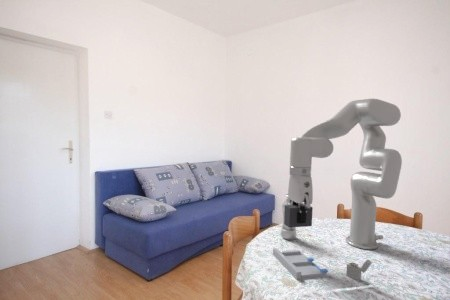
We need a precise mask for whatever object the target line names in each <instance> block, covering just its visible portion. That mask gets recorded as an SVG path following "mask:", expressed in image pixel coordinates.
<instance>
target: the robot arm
mask: <svg viewBox="0 0 450 300" xmlns="http://www.w3.org/2000/svg"><path fill="white" fill-rule="evenodd" d="M401 115H402V114H401V110H400V108H399V107H398V106H397V105H396V104H394V103H391V102H388V101H384V100H382V99H378V98H365V99H355V100H351V101H349V102H348V103H347V104H345V105H344V106H343V107H342V108H341V109H340V110H339V111H337V113H335V115H333V116H332V117H331V118H329V119H327V120H325V121H323V122H320V123H319V124H317V125H315V126H313V127H311V128H310V129H308V130H307V131H306V132H304V134H302V135H301V136H300V137H293V138H292V139H291V141H290V156H289V179H288V190H287V191H288V193H287V194H288V197H289V200H290V203H291V205H298V210H299V212H297V223H298V224H299V223H306V213H307V210H308V209H309V208H310V207H312V206H311V205H312V204H313V196H314V195H313V194H314V193H313V192H314V190H313V189H314V188H313V179H312V164H313V163H312V162H313V161H312V158H318V159H319V158H320V159H324V158H328V157H330V156H331V155H332V153H333V152H334V144H333V142H332V140H333V139H337V138H340V137H344V136H345V135H347V134H348V133H350V131H352V130H353V129H354V128H355V127H356V126H357V125H358V124H359V126H360V129H361V130H362V133H363V140H362V146H361V150H360V155H359V166H360V167H362V168H364V169H367V170H372V171H378V172H381V173H375V172H371V171H369V172H368V171H357V172H354V173H353V174H352V176H351V178H350V189H351V211H350V212H351V213H350V227H349V229H350V231H349V236H346V238H345V242H346V244H348V245H350V246H352V247H355V248H358V249H364V250H375V249H378V248H379V243H378V242H377V241H378V240H383V239H384V236H383V235H382V234H376V233H375V232H376V231H375V230H376V220H377V219H376V216H377V202H376V200H375V197H376V198H382V199H391V198H393V197H394V195H395V194H396V193H397V192H396V191H397V188H398V185H399V180H400V175H401V170H402V164H403V162H402V161H403V159H402V155H401V153H400V152H399V151H398V150H396V149H393V148H386V143H387V137H386V134H385V132H384V130H383V129H382V128H381V127H391V126H394V125H397V124H398V123H399V121H400V119H401ZM301 205H304V206H303V207H302V208H301Z"/></svg>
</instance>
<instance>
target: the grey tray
mask: <svg viewBox="0 0 450 300" xmlns="http://www.w3.org/2000/svg"><path fill="white" fill-rule="evenodd" d="M272 256H273V257H274V258H275V259H276V260H278V262H279V263H280V264H281V265H282V266H283V267H284V268H285V269H286V270H287V272H288V273H289V274H290V275H291V276H292V277H293V278H294V279H295V280H296V281H299V280H309V279H316V278H325V277H330V275H329V274H328V273H329V272H328V271H329V270H328V269H327V268H321V267H320V266H319V265H317V264H316V263H315V262H314V261H315V260H314V258H313V257H307V255H305V254H304V253H303V252H302V251H301V250H300V249H297V250H296V249H295V250H294V249H293V250H282V251H281V250H279V248H277V247H275V248H274V247H273V248H272Z"/></svg>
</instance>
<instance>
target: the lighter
mask: <svg viewBox="0 0 450 300" xmlns="http://www.w3.org/2000/svg"><path fill="white" fill-rule="evenodd" d="M372 263H373V262H372V261H371V260H370V259H367V260H365V262H364V263H363V264H362V265H361V267H359V264H358V263H356V262H353V261H352V262H348V263H347V264H346V277H348V278H351V279H353V280H355V281H358V282H360V281H361V280H362V273H363V274H365V272H367V270H368V269H369V267H370V266H372Z"/></svg>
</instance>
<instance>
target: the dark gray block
mask: <svg viewBox="0 0 450 300" xmlns="http://www.w3.org/2000/svg"><path fill="white" fill-rule="evenodd" d="M303 206H304V205H301V208H302V207H303ZM297 212H299V210H298V205H285V214H284V224H285V225H286V226H288V227H289V228H290V227H296V228H306V227H312V225H313V206H311V207H310V208H309V209H308V210H307V213H306V223H299V224H298V223H297Z"/></svg>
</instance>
